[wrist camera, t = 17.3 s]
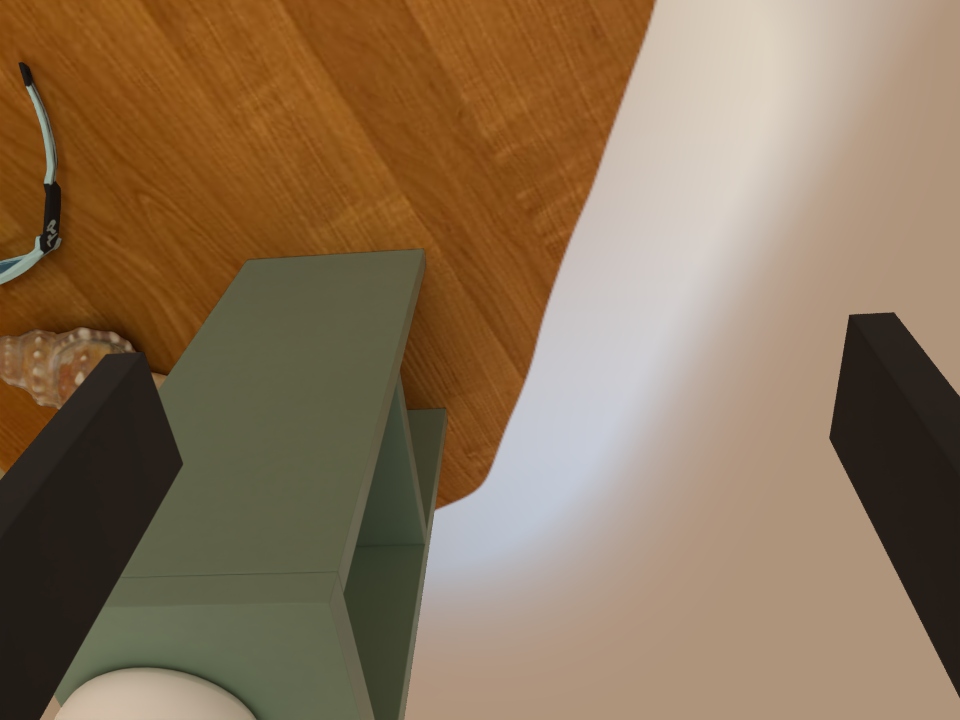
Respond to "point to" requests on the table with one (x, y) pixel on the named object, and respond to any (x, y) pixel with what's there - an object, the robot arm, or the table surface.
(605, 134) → the table surface
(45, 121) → the sunglasses
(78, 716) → the mug
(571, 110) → the table surface
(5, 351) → the seashell
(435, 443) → the shelf
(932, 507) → the robot arm
